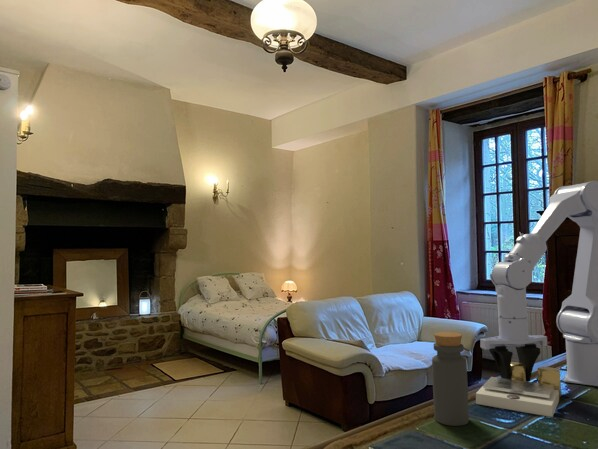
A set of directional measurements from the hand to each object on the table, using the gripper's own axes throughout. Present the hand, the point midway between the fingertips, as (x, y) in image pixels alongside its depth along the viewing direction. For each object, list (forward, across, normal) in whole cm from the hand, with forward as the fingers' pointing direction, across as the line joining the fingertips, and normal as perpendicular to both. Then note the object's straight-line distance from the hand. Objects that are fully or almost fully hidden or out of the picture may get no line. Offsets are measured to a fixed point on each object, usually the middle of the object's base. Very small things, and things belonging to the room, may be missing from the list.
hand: (515, 381), depth 96 cm
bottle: (+2, +22, +13) cm, 26 cm away
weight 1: (+1, 0, 0) cm, 1 cm away
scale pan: (-1, +4, +7) cm, 8 cm away
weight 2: (+2, -4, +5) cm, 7 cm away
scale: (+1, +5, +8) cm, 10 cm away
